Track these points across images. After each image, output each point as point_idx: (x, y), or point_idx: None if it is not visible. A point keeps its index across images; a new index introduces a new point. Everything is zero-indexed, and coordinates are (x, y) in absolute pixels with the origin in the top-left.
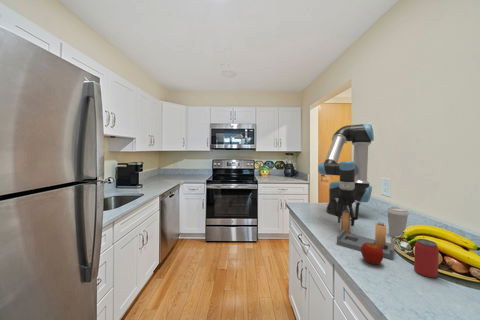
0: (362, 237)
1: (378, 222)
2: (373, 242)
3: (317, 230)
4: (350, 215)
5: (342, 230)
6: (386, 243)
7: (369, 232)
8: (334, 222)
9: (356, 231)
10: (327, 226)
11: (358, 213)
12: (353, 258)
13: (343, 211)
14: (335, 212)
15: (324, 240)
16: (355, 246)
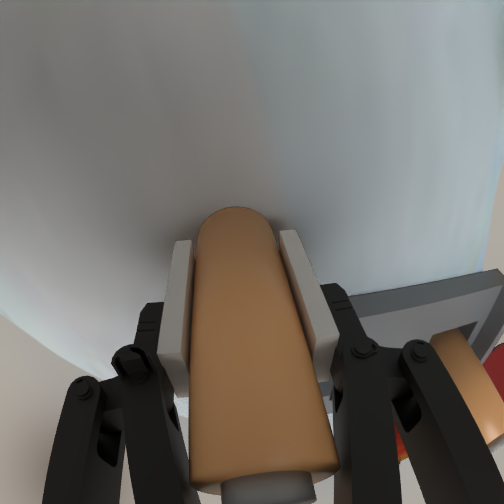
0: (384, 325)
1: (492, 451)
2: (429, 339)
3: (64, 335)
4: (335, 443)
5: None
6: (483, 301)
7: (421, 66)
8: (20, 26)
9: (315, 116)
10: (34, 207)
11: (465, 420)
12: (331, 427)
13: (213, 487)
14: (104, 460)
15: (186, 408)
16: None
